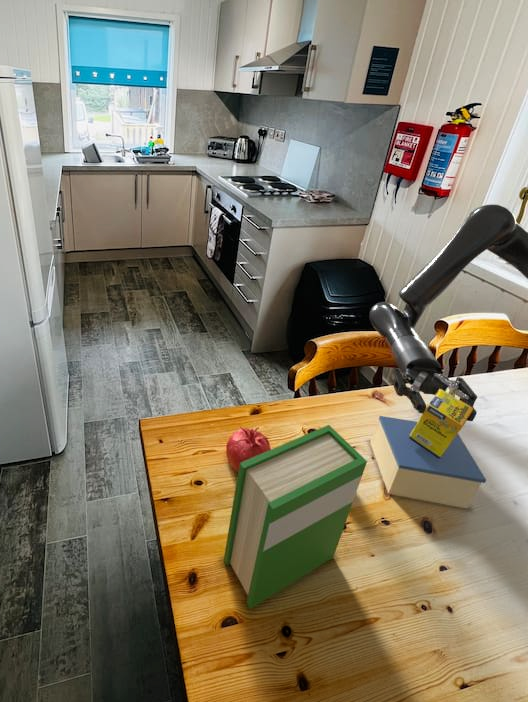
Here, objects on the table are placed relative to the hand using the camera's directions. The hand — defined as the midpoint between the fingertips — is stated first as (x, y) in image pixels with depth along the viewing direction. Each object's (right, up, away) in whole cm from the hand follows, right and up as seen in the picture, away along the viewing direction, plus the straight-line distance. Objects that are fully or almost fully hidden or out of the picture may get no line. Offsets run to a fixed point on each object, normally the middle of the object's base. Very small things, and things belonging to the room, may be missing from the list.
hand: (447, 414), depth 75 cm
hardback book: (-34, -22, -7) cm, 41 cm away
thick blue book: (0, -17, +9) cm, 19 cm away
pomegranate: (-36, -15, +10) cm, 40 cm away
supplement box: (0, -7, +5) cm, 9 cm away
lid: (0, -9, +6) cm, 11 cm away
